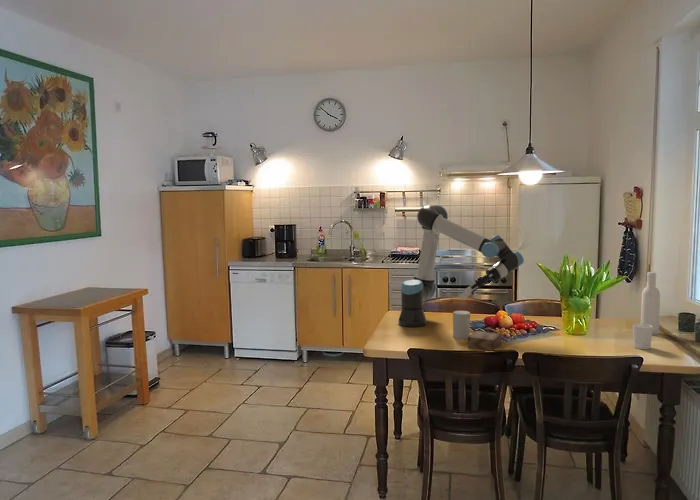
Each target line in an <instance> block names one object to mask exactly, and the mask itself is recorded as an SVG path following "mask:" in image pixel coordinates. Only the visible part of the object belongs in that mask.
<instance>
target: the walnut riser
mask: <svg viewBox="0 0 700 500" xmlns="http://www.w3.org/2000/svg"><path fill="white" fill-rule="evenodd" d="M501 345H502V333H498V332H497V333H496V332H488V331H481V330H480V331H479V330H475V331H474V332H472V333H470V336H468V338H467V348H468V349H473V350H475V349H476V350H483V351H488V350H495V349H496V350H497V349H498V348H499V347H500V346H501Z"/></svg>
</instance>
